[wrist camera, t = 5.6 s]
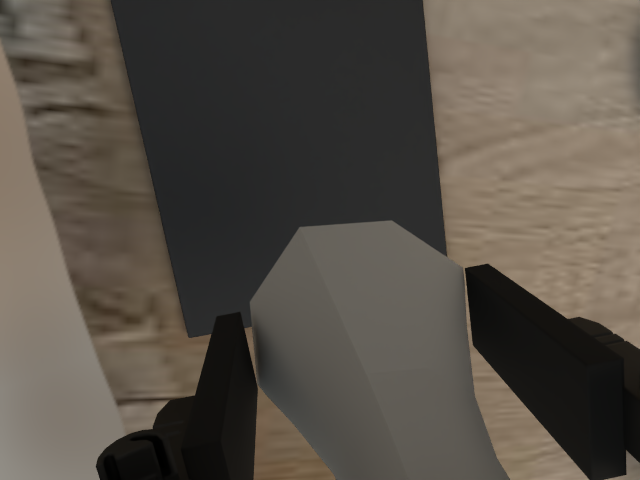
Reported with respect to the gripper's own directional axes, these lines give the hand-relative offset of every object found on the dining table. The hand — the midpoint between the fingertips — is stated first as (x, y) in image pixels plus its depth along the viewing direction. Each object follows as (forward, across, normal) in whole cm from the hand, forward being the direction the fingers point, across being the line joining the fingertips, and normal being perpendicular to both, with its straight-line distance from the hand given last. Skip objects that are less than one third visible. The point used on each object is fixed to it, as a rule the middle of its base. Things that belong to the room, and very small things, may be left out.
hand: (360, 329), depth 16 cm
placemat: (+15, -1, +5) cm, 15 cm away
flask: (+1, 0, 0) cm, 1 cm away
